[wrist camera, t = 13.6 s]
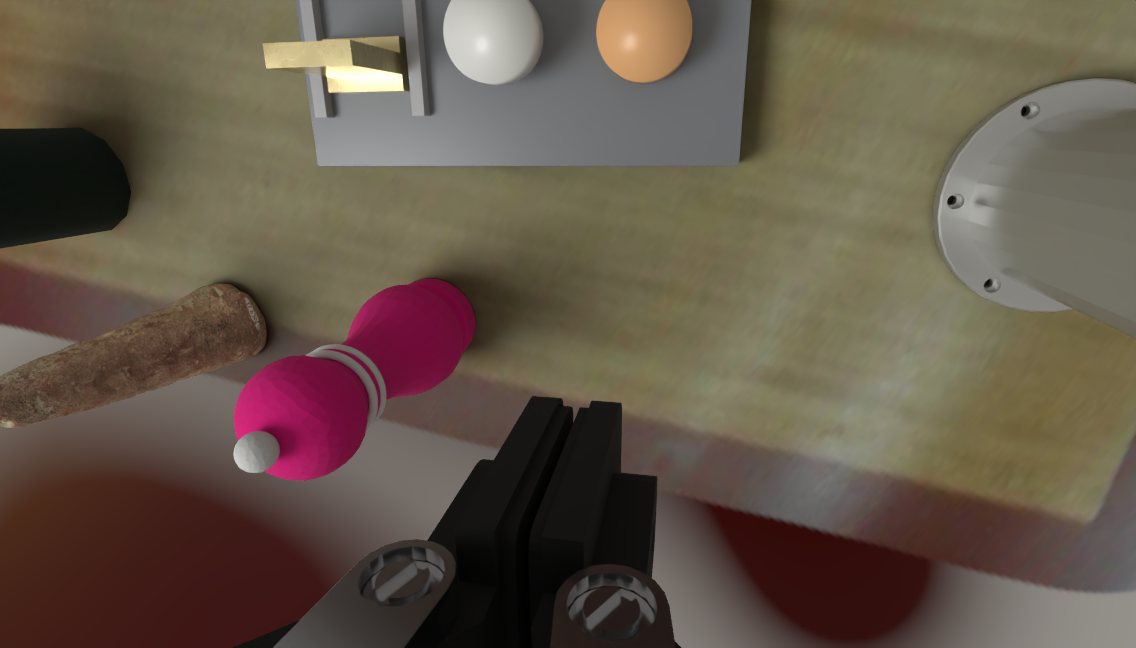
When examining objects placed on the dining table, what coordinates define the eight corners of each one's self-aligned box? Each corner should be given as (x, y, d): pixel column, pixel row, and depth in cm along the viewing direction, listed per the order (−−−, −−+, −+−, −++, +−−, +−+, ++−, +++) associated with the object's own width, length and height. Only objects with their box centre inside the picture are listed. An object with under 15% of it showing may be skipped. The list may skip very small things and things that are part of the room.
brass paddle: (404, 38, 36) (347, 19, 30) (409, 91, 37) (354, 84, 31) (329, 41, 37) (259, 24, 31) (336, 93, 38) (269, 86, 32)
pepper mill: (374, 330, 45) (148, 474, 26) (414, 251, 42) (194, 349, 23) (455, 382, 45) (286, 563, 26) (499, 307, 42) (347, 449, 23)
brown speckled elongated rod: (223, 266, 46) (202, 326, 49) (-83, 322, 30) (-92, 407, 32) (282, 314, 46) (258, 372, 48) (0, 398, 29) (-15, 480, 32)
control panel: (756, -107, 32) (762, -128, 29) (736, 163, 36) (739, 166, 33) (304, -69, 37) (275, -84, 34) (335, 164, 41) (310, 166, 39)
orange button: (694, -19, 32) (695, -28, 30) (689, 82, 33) (689, 80, 31) (601, -13, 32) (596, -22, 31) (601, 85, 34) (596, 82, 32)
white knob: (542, -16, 32) (532, -25, 30) (544, 84, 33) (535, 82, 31) (454, -11, 33) (439, -20, 31) (460, 87, 34) (446, 84, 32)
